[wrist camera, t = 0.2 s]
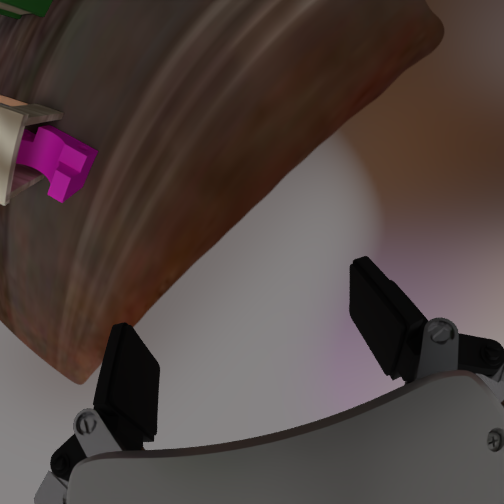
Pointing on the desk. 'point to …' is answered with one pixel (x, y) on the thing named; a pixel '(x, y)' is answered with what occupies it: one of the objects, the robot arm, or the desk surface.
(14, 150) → the tunnel
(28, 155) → the toy block
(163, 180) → the desk surface
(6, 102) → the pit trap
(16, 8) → the hardback book
